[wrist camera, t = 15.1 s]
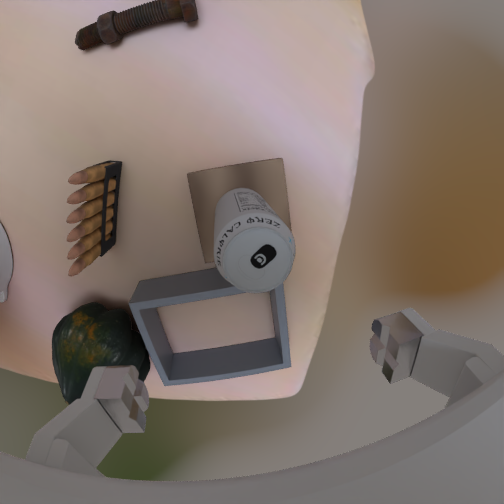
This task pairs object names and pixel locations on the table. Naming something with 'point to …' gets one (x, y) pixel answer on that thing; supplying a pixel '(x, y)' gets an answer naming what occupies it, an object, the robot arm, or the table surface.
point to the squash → (95, 346)
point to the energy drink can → (251, 242)
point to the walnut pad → (232, 177)
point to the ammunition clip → (94, 213)
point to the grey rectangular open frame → (209, 360)
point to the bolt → (133, 21)
